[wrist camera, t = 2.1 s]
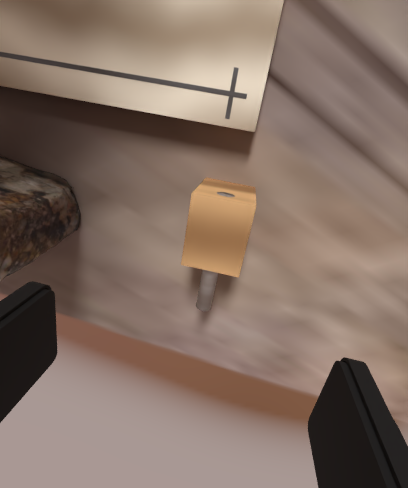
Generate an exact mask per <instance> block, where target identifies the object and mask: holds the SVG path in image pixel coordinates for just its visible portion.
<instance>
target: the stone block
mask: <svg viewBox="0 0 408 488" xmlns="http://www.w3.org/2000/svg"><path fill="white" fill-rule="evenodd" d="M71 188H72V187H70V186H69V185H68V183H67V181H66V180H65V179H63V178H61V177H59V176H57V175H55V174H52V173H48V172H44V171H41V170H37V169H34V168H31V167H28V166H26V165H23V164H20V163H18V162H15V161H12V160H9V159H6V158H3V157H1V156H0V281H2V280H3V279H4V278H5V277H6V276H8V275H10V274H12V273H14V272H15V271H17V270H19V269H21V268H22V267H24V266H25V265H27V264H29V263H31V262H33V261H34V260H35V259H36V258H37V257H39V256H40V255H41V254H43V253H44V252H46V251H47V250H48V249H50V248H52V247H54V246H56V245H57V244H58V243H59V242H61V241H62V240H63V239H64V238H66V237H67V236H69V235H70V234H71V233H72V232H74V231H75V230H77V228H78V226H79V220H80V212H79V210H78V205H77V203H76V201H75V196H74V195H73V193H72V192H71Z"/></svg>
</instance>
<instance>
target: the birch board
mask: <svg viewBox="0 0 408 488" xmlns="http://www.w3.org/2000/svg"><path fill="white" fill-rule="evenodd" d="M283 2H284V0H0V86H4V87H10V88H15V89H21V90H26V91H32V92H37V93H43V94H48V95H54V96H59V97H65V98H70V99H76V100H81V101H87V102H92V103H98V104H103V105H109V106H114V107H120V108H125V109H131V110H136V111H142V112H147V113H153V114H158V115H164V116H169V117H175V118H180V119H186V120H191V121H197V122H202V123H208V124H213V125H219V126H224V127H230V128H235V129H241V130H246V131H252V132H255V129H256V124H257V120H258V115H259V111H260V106H261V102H262V97H263V93H264V88H265V84H266V79H267V75H268V70H269V66H270V61H271V57H272V52H273V47H274V43H275V38H276V34H277V29H278V25H279V20H280V16H281V11H282V7H283Z"/></svg>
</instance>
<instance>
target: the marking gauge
mask: <svg viewBox="0 0 408 488" xmlns="http://www.w3.org/2000/svg"><path fill="white" fill-rule="evenodd" d="M255 210H256V193H255V187H251V186H246V185H241V184H236V183H231V182H226V181H221V180H216V179H211V178H205V179H204V180H203V182H202V183H201V184H200V185H199V186H198V187H197V188H196V189H195V190H194V191H193V193H192V195H191V202H190V208H189V215H188V222H187V228H186V235H185V242H184V248H183V255H182V262H181V265H185V266H189V267H194V268H198V269H203V270H202V275H201V281H200V286H199V291H198V297H197V302H196V307H197V309H199V310H201V311H209V310H210V309H211V306H212V301H213V296H214V292H215V287H216V282H217V278H218V273H221V274H225V275H230V276H234V277H239V274H240V270H241V266H242V262H243V258H244V254H245V250H246V246H247V242H248V238H249V234H250V230H251V226H252V222H253V218H254V214H255Z"/></svg>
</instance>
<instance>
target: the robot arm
mask: <svg viewBox="0 0 408 488" xmlns="http://www.w3.org/2000/svg"><path fill="white" fill-rule="evenodd" d="M56 355H57V335H56V312H55V294H54V292H53V291H51V287H50V286H48V285H45V284H41V283H37V282H29V283H27V284H25V285H24V286H22V287H21V288H19V289H18V290H16V291H15V292H13V293H12V294H10V295H9V296H7V297H6V298H4V299H3V300H1V301H0V422H1V421H2V420H3V419H4V418H5V417H6V416H7V414H8V413H9V412H10V411H11V410H12V409H13V407H14V406H15V405H16V404H17V403H18V402H19V401H20V400H21V398H22V397H23V396H24V395H25V394H26V393H27V392H28V390H29V389H30V388H31V387H32V386H33V385H34V384H35V382H36V381H37V380H38V379H39V378H40V377H41V375H42V374H43V373H44V372H45V371H46V370H47V369H48V367H49V366H50V365H51V364H52V363H53V361H54V359H55V358H56ZM308 432H309V438H310V444H311V449H312V455H313V460H314V465H315V471H316V477H317V482H318V487H319V488H408V446H407V444H406V442H405V440H404V438H403V436H402V434H401V432H400V430H399V428H398V426H397V424H396V423H395V421H394V420H393V418H392V416H391V414H390V412H389V410H388V408H387V406H386V404H385V402H384V399H383V397H382V395H381V393H380V391H379V389H378V387H377V385H376V383H375V381H374V379H373V377H372V375H371V373H370V371H369V369H368V367H367V365H366V364H365V363H364V362H361V361H357V360H353V359H349V358H343V359H341V361H336V362H335V363H334V365H333V367H332V369H331V372H330V374H329V376H328V378H327V380H326V382H325V385H324V387H323V389H322V391H321V393H320V396H319V398H318V400H317V402H316V404H315V406H314V409H313V411H312V413H311V415H310V417H309V421H308Z"/></svg>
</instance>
